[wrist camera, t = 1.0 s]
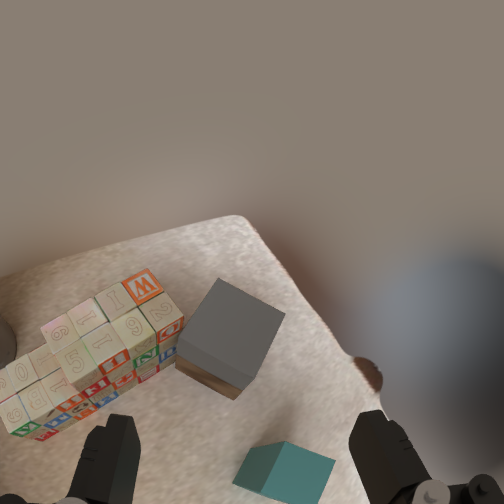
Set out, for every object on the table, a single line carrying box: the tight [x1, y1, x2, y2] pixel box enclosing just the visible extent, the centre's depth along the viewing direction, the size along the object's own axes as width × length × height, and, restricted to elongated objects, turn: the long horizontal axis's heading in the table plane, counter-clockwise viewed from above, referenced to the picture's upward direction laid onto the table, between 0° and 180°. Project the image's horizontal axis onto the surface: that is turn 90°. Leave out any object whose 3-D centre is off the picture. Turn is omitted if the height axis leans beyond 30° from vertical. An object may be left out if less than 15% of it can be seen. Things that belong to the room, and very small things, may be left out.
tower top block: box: [177, 278, 285, 390], centre depth 32 cm, size 8×8×5 cm
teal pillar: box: [232, 441, 336, 504], centre depth 24 cm, size 5×5×12 cm
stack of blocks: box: [0, 268, 184, 441], centre depth 27 cm, size 21×6×12 cm, turn 132°
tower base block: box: [175, 355, 243, 400], centre depth 36 cm, size 8×8×5 cm
